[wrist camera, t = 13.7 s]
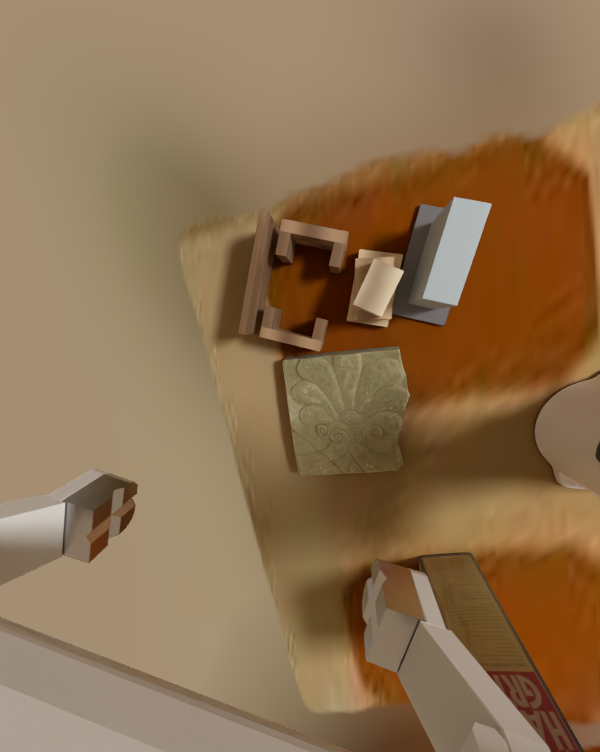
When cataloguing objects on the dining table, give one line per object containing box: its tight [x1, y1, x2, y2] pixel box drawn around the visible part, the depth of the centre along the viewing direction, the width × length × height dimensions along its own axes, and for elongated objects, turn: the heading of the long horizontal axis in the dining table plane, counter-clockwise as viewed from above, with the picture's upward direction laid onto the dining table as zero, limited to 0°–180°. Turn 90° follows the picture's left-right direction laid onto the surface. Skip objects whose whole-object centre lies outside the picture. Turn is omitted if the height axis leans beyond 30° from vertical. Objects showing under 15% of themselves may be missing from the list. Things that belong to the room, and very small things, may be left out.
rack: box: [238, 209, 348, 351], centre depth 40 cm, size 12×16×7 cm
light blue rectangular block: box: [408, 197, 492, 309], centre depth 35 cm, size 4×11×8 cm, turn 167°
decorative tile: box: [283, 346, 410, 475], centre depth 44 cm, size 19×20×4 cm
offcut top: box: [353, 259, 404, 317], centre depth 36 cm, size 4×6×2 cm, turn 157°
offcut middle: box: [354, 257, 394, 320], centre depth 39 cm, size 5×8×2 cm, turn 1°
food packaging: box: [418, 553, 584, 752], centre depth 36 cm, size 13×9×25 cm
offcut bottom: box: [346, 249, 403, 327], centre depth 41 cm, size 6×10×2 cm, turn 171°
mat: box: [392, 204, 450, 326], centre depth 40 cm, size 8×15×1 cm, turn 167°
